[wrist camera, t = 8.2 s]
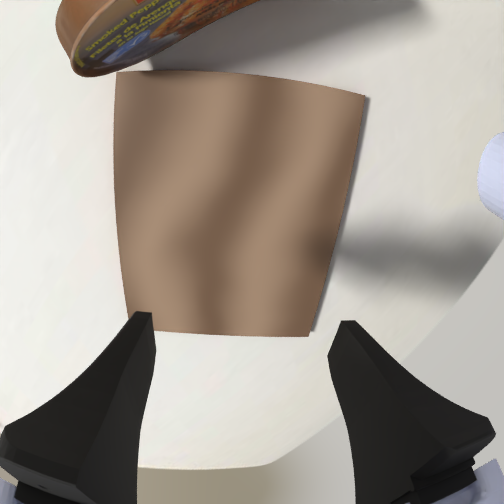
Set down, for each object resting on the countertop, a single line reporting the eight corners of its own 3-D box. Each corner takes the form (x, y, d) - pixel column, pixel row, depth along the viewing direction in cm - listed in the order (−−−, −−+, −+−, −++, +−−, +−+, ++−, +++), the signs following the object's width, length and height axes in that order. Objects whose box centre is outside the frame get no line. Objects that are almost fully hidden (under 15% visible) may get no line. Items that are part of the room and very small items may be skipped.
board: (361, 95, 16) (365, 95, 15) (306, 331, 24) (308, 336, 24) (120, 72, 14) (116, 72, 13) (131, 323, 23) (130, 328, 22)
